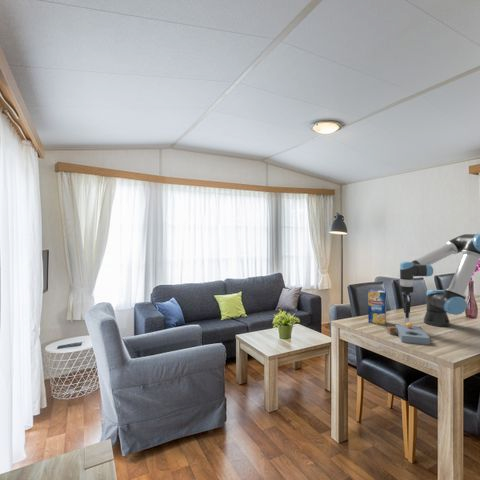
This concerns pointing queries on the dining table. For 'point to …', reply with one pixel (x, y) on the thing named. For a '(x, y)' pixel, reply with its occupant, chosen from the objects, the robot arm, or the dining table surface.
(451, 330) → the dining table surface
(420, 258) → the robot arm
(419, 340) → the gray slab with hole
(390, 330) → the walnut block
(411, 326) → the ball
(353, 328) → the dining table surface
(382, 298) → the blue food box
